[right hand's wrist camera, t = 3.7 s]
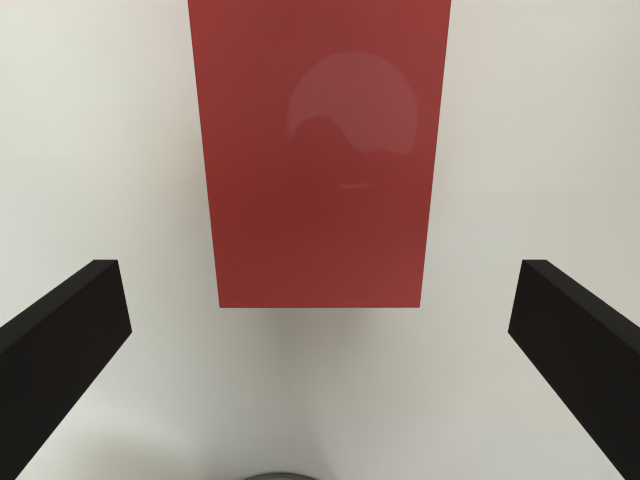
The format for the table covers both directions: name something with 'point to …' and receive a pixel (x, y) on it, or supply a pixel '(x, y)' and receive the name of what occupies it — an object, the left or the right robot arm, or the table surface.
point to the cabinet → (319, 146)
